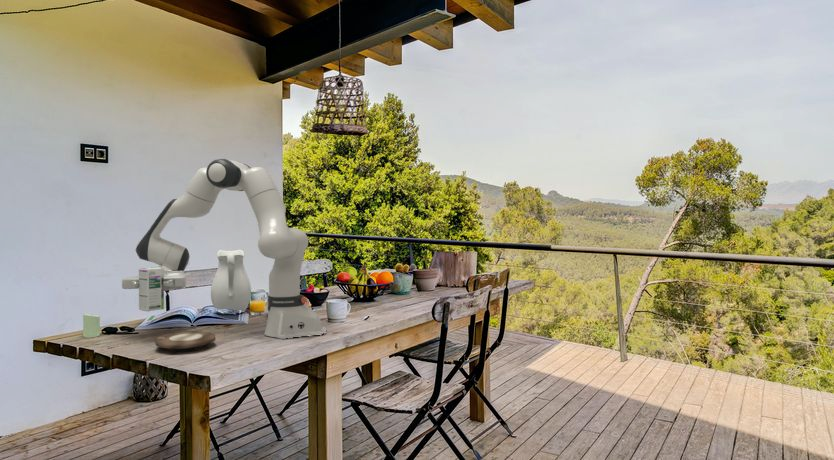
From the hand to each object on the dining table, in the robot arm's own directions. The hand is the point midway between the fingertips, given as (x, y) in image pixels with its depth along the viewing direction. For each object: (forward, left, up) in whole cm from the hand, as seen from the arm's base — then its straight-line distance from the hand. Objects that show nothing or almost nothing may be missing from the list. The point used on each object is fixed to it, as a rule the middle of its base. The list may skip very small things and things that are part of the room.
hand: (150, 284), depth 172 cm
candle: (+23, -13, -20) cm, 33 cm away
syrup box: (0, -1, -9) cm, 9 cm away
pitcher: (-20, -46, -20) cm, 54 cm away
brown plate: (-13, +9, -18) cm, 24 cm away
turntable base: (-13, +10, -20) cm, 25 cm away
